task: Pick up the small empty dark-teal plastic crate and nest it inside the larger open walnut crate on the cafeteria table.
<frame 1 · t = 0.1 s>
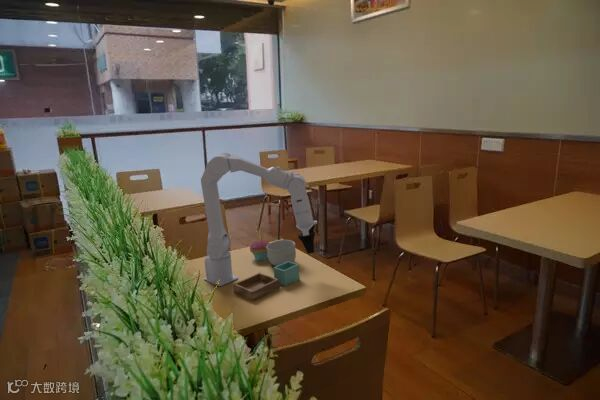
hand: (310, 248, 138), 10 cm above the table, tool pointing down, fingers open, 7 cm apart
teal crate: (287, 281, 139), on the table
walnut crate: (257, 290, 133), on the table
teacup: (283, 262, 155), on the table
cupcake: (261, 258, 160), on the table
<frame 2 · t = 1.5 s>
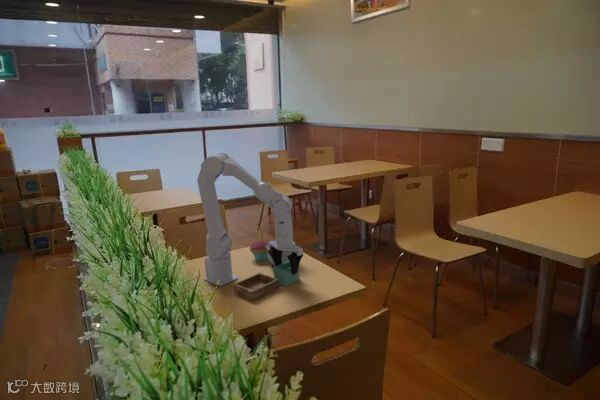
hand: (286, 270, 138), 4 cm above the table, tool pointing down, fingers open, 7 cm apart
nothing on the table moved.
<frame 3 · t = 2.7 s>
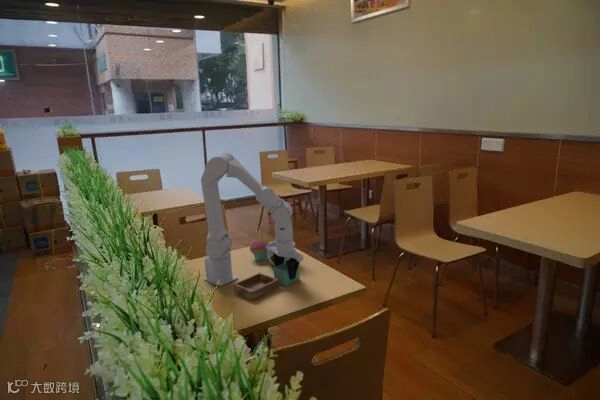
hand: (286, 276, 138), 2 cm above the table, tool pointing down, fingers closed on teal crate, 5 cm apart
teal crate: (287, 280, 139), on the table, touching gripper
everything else where it was.
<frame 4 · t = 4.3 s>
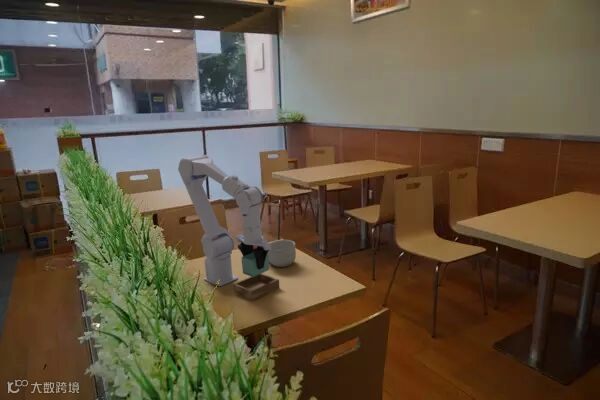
hand: (255, 266, 131), 8 cm above the table, tool pointing down, fingers closed on teal crate, 5 cm apart
teal crate: (256, 271, 132), point 6 cm above the table, touching gripper
everything else where it was.
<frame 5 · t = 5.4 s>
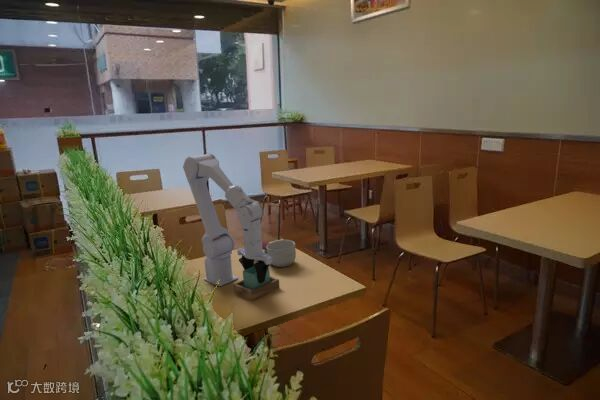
hand: (256, 279, 132), 4 cm above the table, tool pointing down, fingers closed on teal crate, 5 cm apart
teal crate: (257, 284, 133), point 2 cm above the table, touching gripper
everything else where it was.
when the fingers open (4 cm above the table, at t = 6.0 s): teal crate drops 1 cm, resting on walnut crate.
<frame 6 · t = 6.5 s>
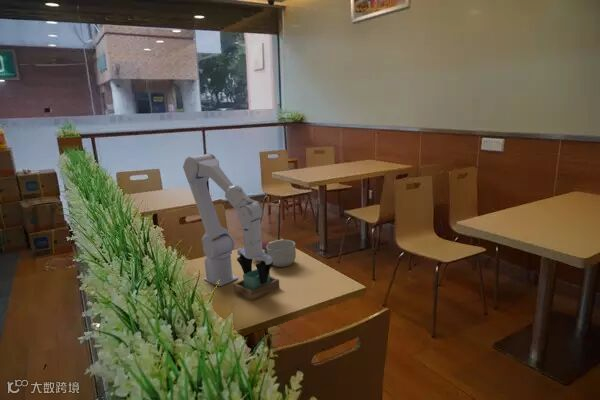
hand: (256, 279, 132), 4 cm above the table, tool pointing down, fingers open, 7 cm apart
teal crate: (257, 288, 133), resting on walnut crate
everything else where it was.
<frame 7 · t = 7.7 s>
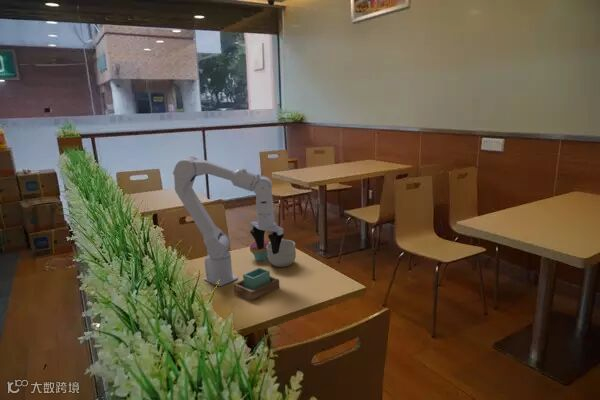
hand: (268, 250, 140), 10 cm above the table, tool pointing down, fingers open, 7 cm apart
nothing on the table moved.
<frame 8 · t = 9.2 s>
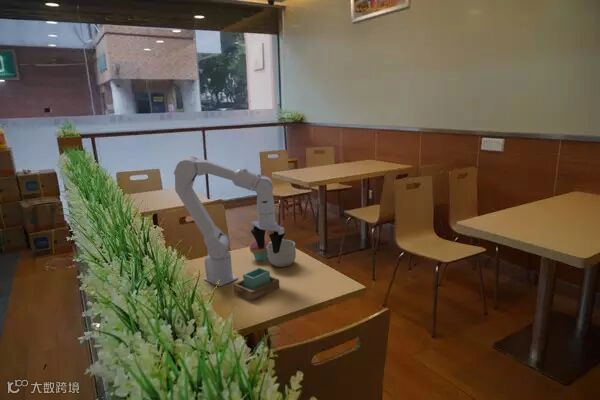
hand: (268, 250, 140), 10 cm above the table, tool pointing down, fingers open, 7 cm apart
nothing on the table moved.
at the end: teal crate 0.3 cm off-centre on the walnut crate, point 0.5 cm above the walnut crate's base; teal crate tilted 0°; the gripper is holding nothing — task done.
